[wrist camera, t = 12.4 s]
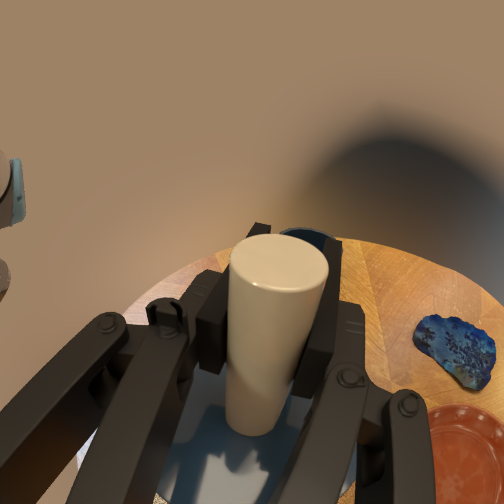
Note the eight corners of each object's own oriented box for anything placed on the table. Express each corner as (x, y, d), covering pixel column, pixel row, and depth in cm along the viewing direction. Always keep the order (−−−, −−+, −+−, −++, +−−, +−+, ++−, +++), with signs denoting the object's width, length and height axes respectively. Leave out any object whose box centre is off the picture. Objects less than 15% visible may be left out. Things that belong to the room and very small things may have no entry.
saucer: (507, 537, 8) (527, 530, 6) (351, 589, 10) (367, 593, 8) (491, 409, 27) (506, 396, 25) (363, 417, 29) (375, 403, 27)
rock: (478, 400, 29) (485, 393, 28) (403, 340, 40) (408, 331, 39) (498, 352, 36) (504, 345, 35) (436, 306, 48) (440, 298, 47)
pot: (258, 273, 52) (262, 239, 48) (297, 252, 59) (303, 221, 55) (308, 307, 46) (318, 272, 42) (344, 279, 53) (354, 247, 49)
